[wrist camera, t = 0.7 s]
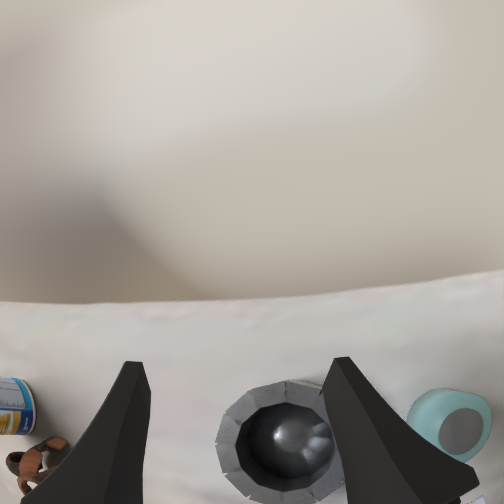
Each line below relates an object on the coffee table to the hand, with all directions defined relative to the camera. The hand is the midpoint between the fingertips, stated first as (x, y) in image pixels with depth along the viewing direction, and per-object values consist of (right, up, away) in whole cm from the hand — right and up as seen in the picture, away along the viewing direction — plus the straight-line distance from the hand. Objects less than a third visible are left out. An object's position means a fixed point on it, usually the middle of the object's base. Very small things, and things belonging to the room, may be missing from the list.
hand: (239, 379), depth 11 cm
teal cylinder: (+15, -9, +8) cm, 20 cm away
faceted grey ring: (+4, -10, +11) cm, 16 cm away
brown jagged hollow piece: (-23, -22, +15) cm, 35 cm away
